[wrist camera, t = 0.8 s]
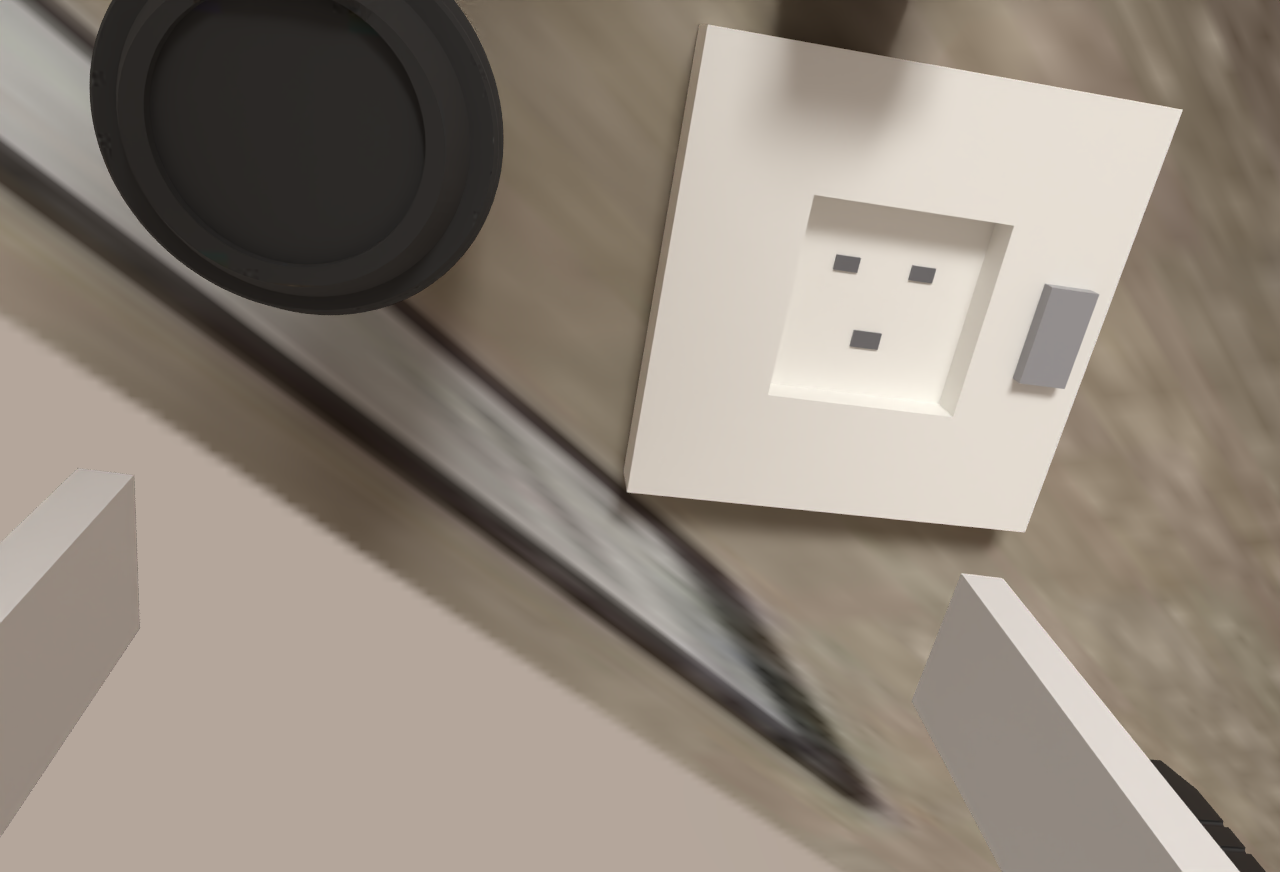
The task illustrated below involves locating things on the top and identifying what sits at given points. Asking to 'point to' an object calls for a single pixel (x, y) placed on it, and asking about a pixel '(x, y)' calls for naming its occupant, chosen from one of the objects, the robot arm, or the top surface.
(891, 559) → the top surface
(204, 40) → the coffee cup
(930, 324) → the socket plate
